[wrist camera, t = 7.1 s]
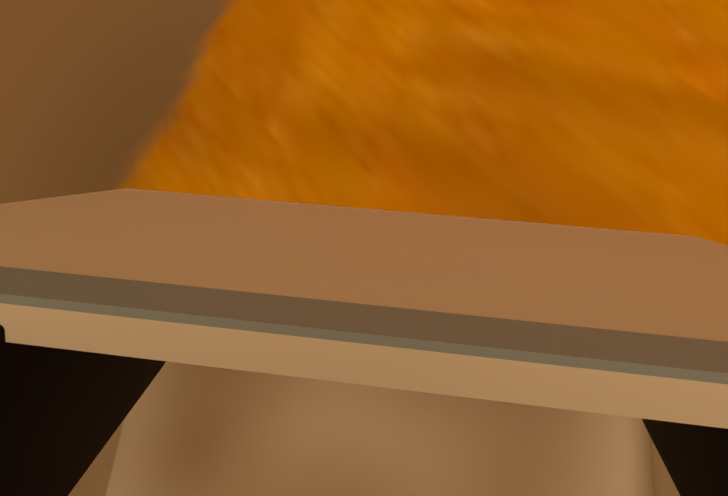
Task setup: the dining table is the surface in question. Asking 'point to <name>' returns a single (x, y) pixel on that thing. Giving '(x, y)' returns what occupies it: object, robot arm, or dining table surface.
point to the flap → (377, 299)
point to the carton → (361, 443)
